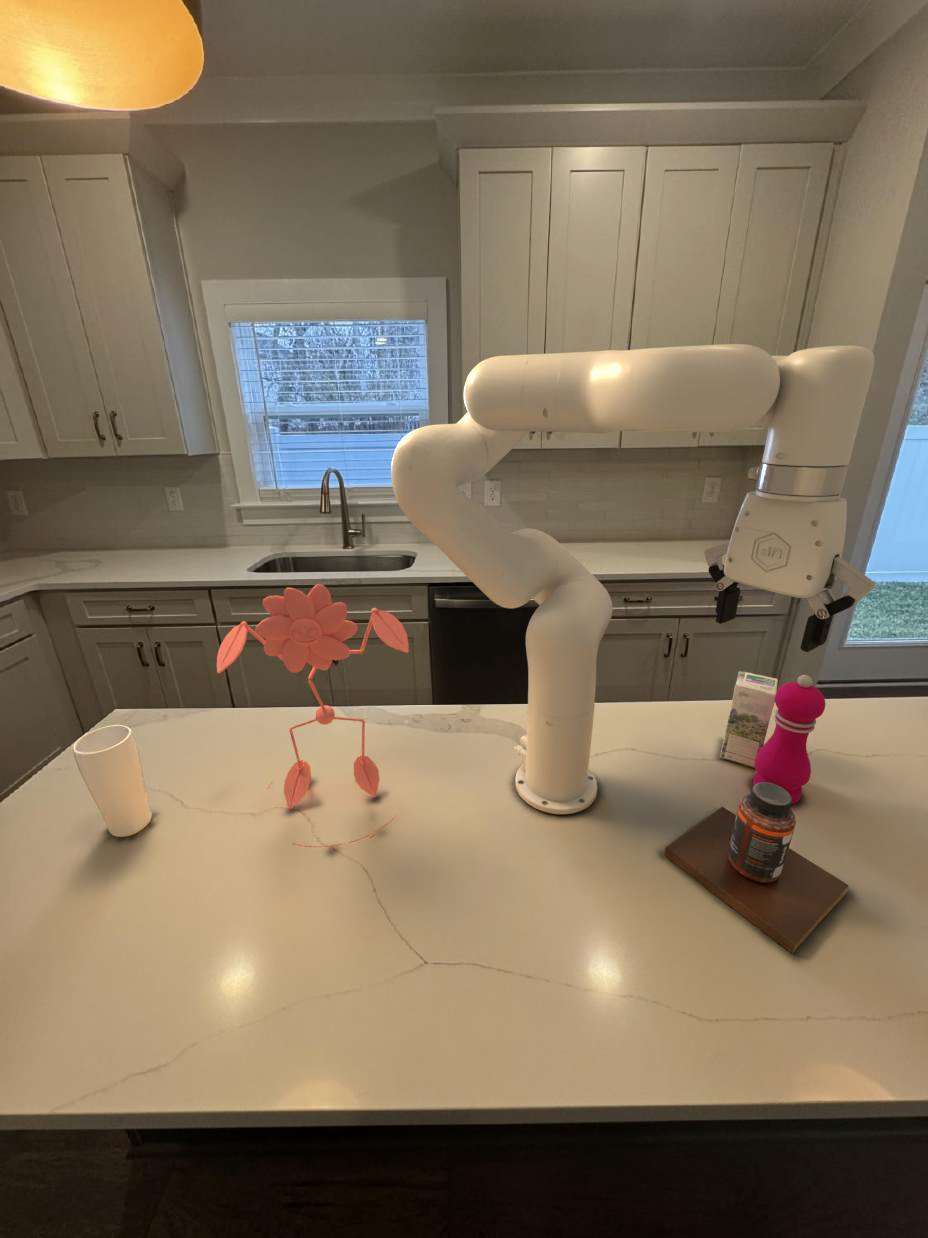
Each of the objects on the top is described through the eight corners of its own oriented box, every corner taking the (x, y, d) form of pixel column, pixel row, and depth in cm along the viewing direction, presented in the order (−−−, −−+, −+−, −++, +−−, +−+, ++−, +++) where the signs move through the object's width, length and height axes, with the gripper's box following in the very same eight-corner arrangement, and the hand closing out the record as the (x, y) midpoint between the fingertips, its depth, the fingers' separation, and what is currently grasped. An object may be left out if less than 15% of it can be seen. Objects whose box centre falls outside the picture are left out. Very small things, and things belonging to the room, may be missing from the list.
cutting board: (664, 855, 67) (665, 846, 66) (720, 814, 74) (722, 806, 73) (791, 954, 55) (795, 944, 54) (845, 894, 61) (849, 885, 61)
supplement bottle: (791, 885, 61) (814, 811, 56) (741, 885, 61) (760, 812, 56) (764, 846, 66) (783, 776, 62) (718, 846, 66) (734, 776, 62)
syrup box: (760, 751, 87) (778, 676, 81) (757, 771, 82) (776, 693, 77) (723, 741, 90) (739, 668, 84) (719, 759, 85) (734, 683, 80)
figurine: (255, 784, 81) (210, 575, 68) (416, 770, 84) (403, 565, 71) (225, 862, 67) (161, 617, 54) (420, 842, 70) (405, 603, 57)
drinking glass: (168, 816, 75) (142, 731, 69) (123, 849, 69) (91, 759, 64) (138, 803, 78) (111, 719, 72) (93, 834, 72) (59, 746, 66)
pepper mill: (811, 810, 74) (848, 691, 66) (757, 804, 75) (787, 686, 68) (792, 778, 80) (823, 665, 73) (743, 772, 82) (768, 662, 74)
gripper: (701, 477, 57) (679, 618, 64) (884, 495, 44) (833, 671, 50) (737, 472, 61) (713, 605, 67) (917, 487, 48) (865, 652, 54)
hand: (764, 633), depth 59 cm, fingers open, 9 cm apart
